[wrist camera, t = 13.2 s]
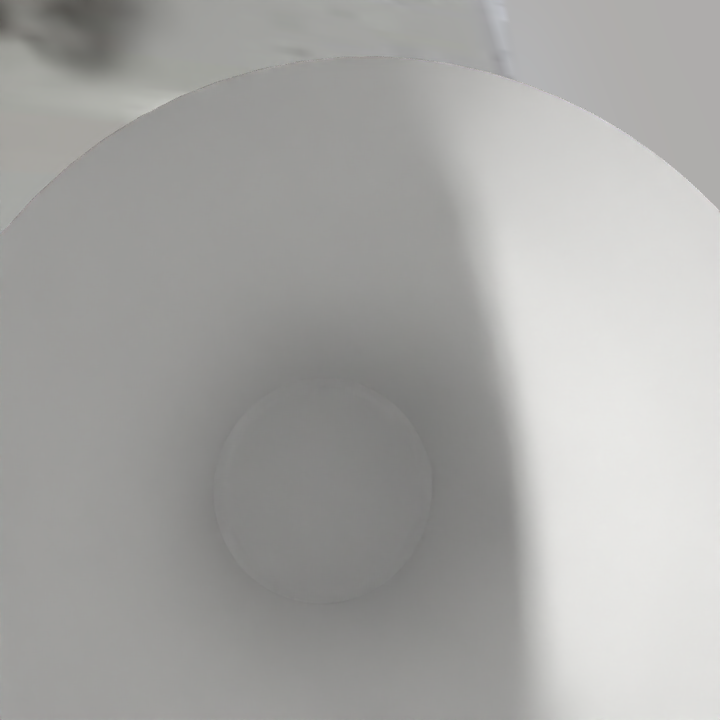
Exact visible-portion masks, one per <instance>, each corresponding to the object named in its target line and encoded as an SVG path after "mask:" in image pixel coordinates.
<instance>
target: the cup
mask: <svg viewBox="0 0 720 720" xmlns="http://www.w3.org/2000/svg"><path fill="white" fill-rule="evenodd" d="M0 720H720V211H719V209H718V208H717V207H716V206H715V205H714V204H712V203H711V201H709V200H708V199H707V198H706V197H705V196H704V195H703V194H702V193H701V192H700V191H699V190H698V189H697V188H696V187H695V186H694V185H693V184H692V183H690V181H689V180H687V179H686V178H685V177H684V176H682V175H681V174H680V173H679V172H678V171H676V170H675V169H674V168H673V167H672V166H670V165H669V164H668V163H667V162H665V161H664V160H663V159H662V158H661V157H659V156H658V155H657V154H655V153H654V152H652V151H651V150H650V149H648V148H647V147H645V146H644V145H642V144H641V143H639V142H638V141H637V140H635V139H634V138H632V137H631V136H629V135H628V134H627V133H625V132H623V131H622V130H620V129H618V128H617V127H615V126H613V125H611V124H610V123H608V122H606V121H605V120H603V119H601V118H600V117H598V116H596V115H595V114H593V113H590V112H589V111H587V110H585V109H583V108H580V107H578V106H576V105H574V104H572V103H570V102H568V101H566V100H564V99H562V98H560V97H558V96H555V95H553V94H550V93H548V92H545V91H543V90H540V89H538V88H535V87H533V86H530V85H528V84H525V83H522V82H519V81H515V80H512V79H509V78H506V77H503V76H499V75H496V74H493V73H490V72H485V71H481V70H476V69H472V68H468V67H463V66H459V65H454V64H448V63H441V62H434V61H427V60H420V59H411V58H394V57H376V56H375V57H337V58H328V59H319V60H310V61H301V62H295V63H290V64H285V65H280V66H275V67H270V68H265V69H260V70H256V71H252V72H249V73H246V74H242V75H239V76H235V77H232V78H228V79H225V80H222V81H218V82H216V83H213V84H211V85H208V86H206V87H203V88H201V89H198V90H195V91H193V92H190V93H188V94H185V95H183V96H180V97H178V98H176V99H174V100H172V101H170V102H168V103H166V104H164V105H162V106H160V107H158V108H156V109H154V110H152V111H150V112H148V113H146V114H144V115H142V116H140V117H139V118H137V119H136V120H134V121H132V122H131V123H129V124H128V125H126V126H124V127H123V128H121V129H119V130H118V131H116V132H115V133H113V134H111V135H110V136H108V137H107V138H105V139H103V140H102V141H101V142H99V143H98V144H97V145H96V146H94V147H93V148H92V149H90V150H89V151H88V152H86V153H85V154H84V155H82V156H81V157H80V158H78V159H77V160H76V161H74V162H73V163H72V164H70V165H69V166H68V167H67V168H66V169H64V170H63V171H62V172H61V173H60V174H59V175H58V176H57V177H56V178H55V179H54V180H53V181H51V182H50V183H49V184H48V185H47V186H46V187H45V188H44V189H43V190H42V191H41V192H39V193H38V194H37V195H36V196H35V197H34V198H33V199H32V200H31V201H30V202H29V203H28V205H27V206H26V207H25V208H24V209H23V210H22V211H21V212H20V213H19V215H18V216H17V217H16V218H15V219H14V220H13V221H12V222H11V223H10V225H9V226H8V227H7V228H6V229H5V230H4V231H3V232H2V233H1V235H0Z"/></svg>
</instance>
